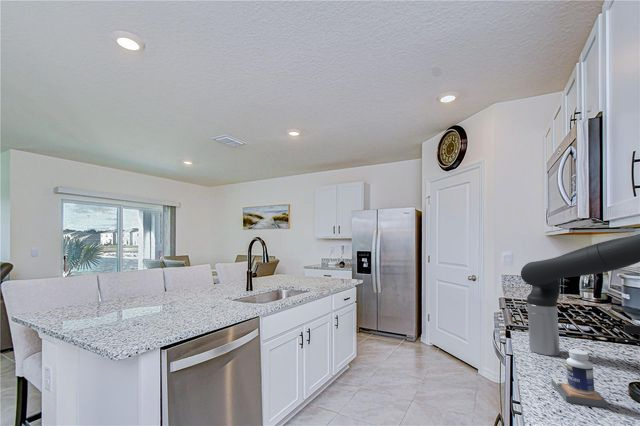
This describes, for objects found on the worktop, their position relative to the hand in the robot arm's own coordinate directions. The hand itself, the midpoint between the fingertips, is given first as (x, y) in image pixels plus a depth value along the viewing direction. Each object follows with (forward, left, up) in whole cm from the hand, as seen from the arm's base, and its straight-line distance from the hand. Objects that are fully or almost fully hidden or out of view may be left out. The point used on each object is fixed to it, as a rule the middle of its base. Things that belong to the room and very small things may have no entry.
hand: (633, 333), depth 82 cm
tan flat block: (+1, -13, -17) cm, 22 cm away
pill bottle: (+3, -13, -15) cm, 20 cm away
